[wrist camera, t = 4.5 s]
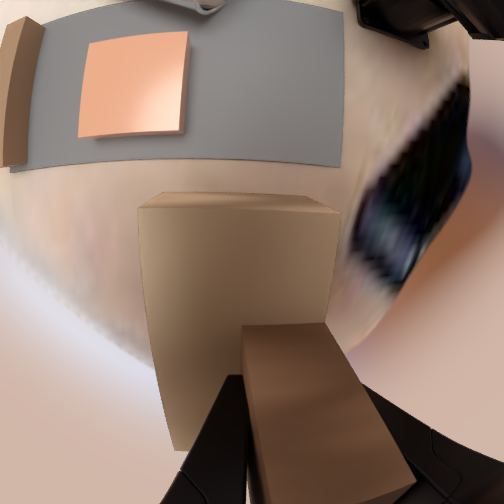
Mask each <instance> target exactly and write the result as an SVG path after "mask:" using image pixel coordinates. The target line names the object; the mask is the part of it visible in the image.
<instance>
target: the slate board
mask: <svg viewBox="0 0 504 504" xmlns="http://www.w3.org/2000/svg"><path fill="white" fill-rule="evenodd" d="M181 31H188V34H189V38H190V42H191V46H192V48H191V57H190V67H189V77H188V88H187V101H186V116H185V133H184V134H167V135H143V136H127V137H114V138H104V139H86V138H78V127H79V113H80V102H81V93H82V85H83V77H84V71H85V64H86V59H87V53H88V48H89V44H90V43H95V42H99V41H105V40H110V39H116V38H122V37H128V36H135V35H144V34H153V33H164V32H181ZM343 114H344V27H343V12H339V11H335V10H331V9H327V8H323V7H318V6H314V5H309V4H304V3H298V2H292V1H286V0H230V1H229V2H228V3H227V4H225V5H224V6H223V7H222V8H220V9H219V10H217V11H215V12H213V13H211V14H207V15H203V14H200V13H198V12H196V11H193V10H190V9H187V8H183V7H180V6H176V5H173V4H170V3H166V2H163V1H160V0H134V1H128V2H122V3H117V4H112V5H107V6H103V7H99V8H94V9H90V10H87V11H83V12H79V13H76V14H72V15H69V16H66V17H63V18H60V19H57V20H54V21H51V22H48V23H46V24H43V25H40V24H38V23H37V22H35V21H34V20H32V19H30V18H29V17H27V16H25V17H23V18H21V19H19V20H17V21H15V22H13V23H11V24H9V25H7V27H6V30H5V34H4V37H3V40H2V44H1V48H0V168H3V167H10V173H13V172H19V171H25V170H31V169H38V168H45V167H52V166H61V165H69V164H79V163H89V162H101V161H115V160H133V159H161V158H217V159H246V160H264V161H279V162H292V163H303V164H313V165H323V166H332V167H340V166H341V152H342V136H343Z"/></svg>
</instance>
